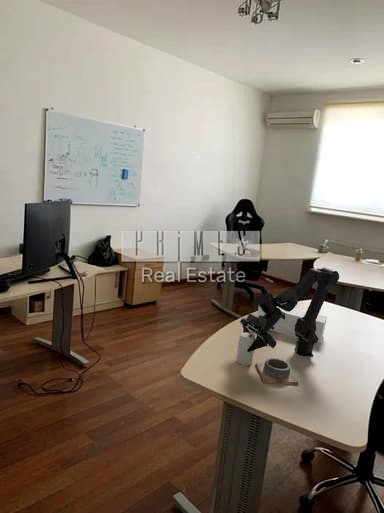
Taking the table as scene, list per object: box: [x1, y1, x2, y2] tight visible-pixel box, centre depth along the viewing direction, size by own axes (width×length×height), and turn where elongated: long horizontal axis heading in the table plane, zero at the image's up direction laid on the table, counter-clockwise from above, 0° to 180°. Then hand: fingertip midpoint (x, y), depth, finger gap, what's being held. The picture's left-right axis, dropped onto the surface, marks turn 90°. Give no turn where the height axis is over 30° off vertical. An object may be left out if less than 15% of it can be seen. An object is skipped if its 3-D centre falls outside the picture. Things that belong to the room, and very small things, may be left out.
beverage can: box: [235, 331, 256, 366], centre depth 153 cm, size 6×6×12 cm
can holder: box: [255, 357, 299, 386], centre depth 147 cm, size 13×13×4 cm
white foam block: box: [256, 306, 328, 344], centre depth 192 cm, size 32×11×11 cm, turn 65°
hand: (243, 347), depth 152 cm, fingers closed on beverage can, 6 cm apart
